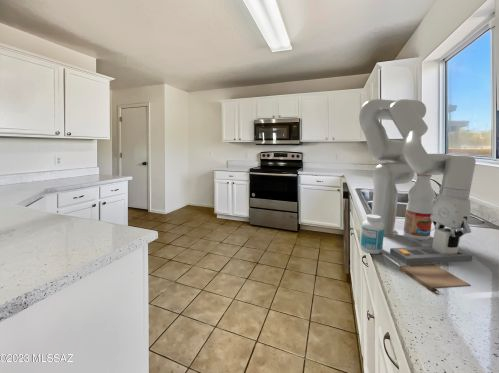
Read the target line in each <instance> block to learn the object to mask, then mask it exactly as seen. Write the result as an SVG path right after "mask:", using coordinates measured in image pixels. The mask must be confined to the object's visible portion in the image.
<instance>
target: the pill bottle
mask: <svg viewBox="0 0 499 373" xmlns="http://www.w3.org/2000/svg"><path fill="white" fill-rule="evenodd" d="M380 220H381V216H378V215H371V214H367V215H366V219H365V220H364V221H362V224H361V233H360V234H361V235H360V246H359V248H360V250H361V251H363V252H364V253H367V254H370V255H379V254H381V253H382V252H383V247H384V246H383V245H384V237H385V236H384V224H383V223H381V222H380Z"/></svg>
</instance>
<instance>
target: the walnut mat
mask: <svg viewBox="0 0 499 373" xmlns="http://www.w3.org/2000/svg"><path fill="white" fill-rule="evenodd" d="M399 270H401V271H402V272H403V273H404V272H405V275H408V277H410V278H411V279H413V280H414V281H416V282H417V283H418V284H420V285H421V286H423V287H424V288H425V287H426V289H427V290H428V291H430V292H439V290H438V289H439V288H440V289H441V288H452V287H469V286H471V284H470V283H468V282H467V281H465V280H464V279H462V278H459V277H458V276H457V275H455V274H453V273H451V272H449V271H447V270H446V269H444V268H442V267H440V266H438V265H437V264H436V263H424V264H405V265H399Z"/></svg>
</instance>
